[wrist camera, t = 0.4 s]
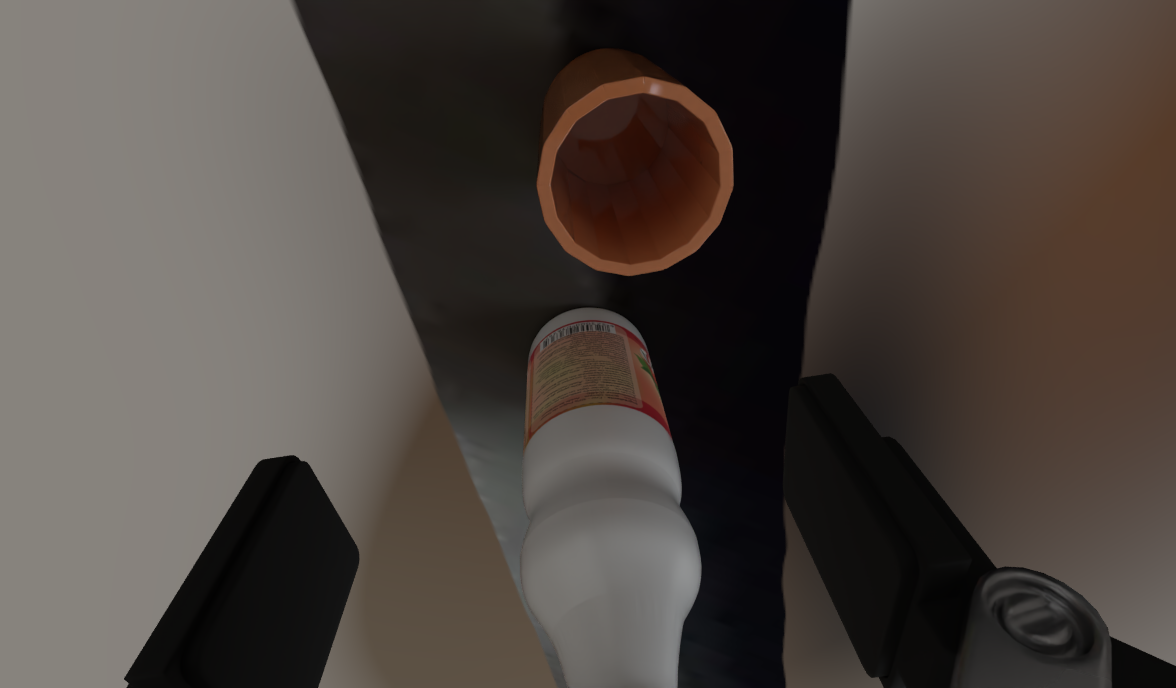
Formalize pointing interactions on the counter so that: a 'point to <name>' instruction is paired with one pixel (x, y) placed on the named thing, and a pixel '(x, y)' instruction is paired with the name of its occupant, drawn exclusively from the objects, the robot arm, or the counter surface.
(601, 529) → the fruit juice
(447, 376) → the counter surface
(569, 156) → the tube
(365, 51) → the counter surface
